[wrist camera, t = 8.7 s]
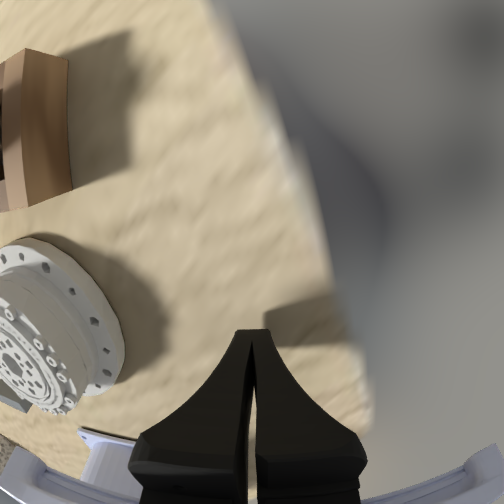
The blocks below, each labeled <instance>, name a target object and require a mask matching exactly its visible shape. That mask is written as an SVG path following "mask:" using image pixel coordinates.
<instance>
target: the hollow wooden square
mask: <svg viewBox="0 0 504 504" xmlns="http://www.w3.org/2000/svg"><path fill="white" fill-rule="evenodd" d="M67 73H68V60H66V59H63V58H59V57H56V56H53V55H49V54H46V53H42V52H39V51H35V50H31V49H27V48H25V49H23V50H21V51H20V52H18V53H16V54H15V55H13V56H12V57H10V58H9V59H7V60H6V61H4V62H3V63H1V64H0V112H2V150H3V164H4V165H1V166H0V213H1V212H6V211H11V210H16V209H21V208H26V207H30V206H32V205H35V204H37V203H40V202H42V201H45V200H47V199H50V198H53V197H55V196H58V195H61V194H63V193H66V192H69V191H72V182H71V173H70V163H69V152H68V136H67Z"/></svg>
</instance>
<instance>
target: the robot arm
mask: <svg viewBox="0 0 504 504" xmlns="http://www.w3.org/2000/svg"><path fill="white" fill-rule="evenodd" d="M254 388H255V398H256V407H257V414H256V446H255V457H256V472H257V500H258V504H491V503H492V502H494V501H495V500H497V499H498V498H500V497H501V496H502V495H504V458H503V457H502V455H501V453H500V451H499V449H498V447H497V445H496V443H493V444H491V445H489V446H488V447H486V448H484V449H482V450H480V451H478V452H477V453H475V454H474V455H473V456H471V457H470V458H469V459H468V460H467V461H466V462H465V463H464V465H462V466H460V467H458V468H456V469H453V470H451V471H449V472H447V473H444V474H442V475H440V476H437V477H435V478H432V479H430V480H427V481H424V482H422V483H419V484H416V485H413V486H410V487H407V488H404V489H401V490H398V491H394V492H391V493H388V494H384V495H380V496H377V497H372V498H368V499H364V500H360V496H359V491H358V489H359V488H360V483H359V479H358V477H359V475H360V474H361V472H362V471H363V469H364V468H365V466H366V464H367V462H368V461H367V456H366V453H365V450H364V448H363V446H362V444H361V442H360V440H359V438H358V436H357V435H356V433H354V432H353V431H351V430H350V429H348V428H346V427H345V426H343V425H342V424H341V423H339V422H338V421H336V420H335V419H334V418H333V417H331V416H330V415H329V414H328V413H326V412H325V411H324V410H323V409H322V408H321V407H320V406H319V405H318V404H317V403H316V402H314V401H313V400H312V399H311V398H310V396H309V395H308V394H307V393H306V392H305V391H304V390H303V389H302V387H301V386H300V385H299V384H298V383H297V381H296V380H295V379H294V377H293V376H292V374H291V373H290V371H289V370H288V369H287V367H286V365H285V364H284V362H283V360H282V358H281V357H280V355H279V353H278V351H277V349H276V347H275V345H274V342H273V340H272V337H271V334H270V331H269V330H268V329H250V330H237V331H236V332H235V335H234V337H233V339H232V341H231V343H230V345H229V347H228V349H227V351H226V353H225V354H224V356H223V358H222V359H221V361H220V362H219V364H218V365H217V367H216V368H215V370H214V371H213V372H212V374H211V375H210V376H209V378H208V379H207V380H206V381H205V383H204V384H203V385H202V386H201V387H200V388H199V389H198V390H197V391H196V392H195V393H194V394H193V395H192V396H191V397H190V398H189V399H188V400H187V401H186V402H185V403H184V404H183V405H182V406H181V407H179V408H178V409H177V410H175V411H174V412H173V413H172V414H170V415H169V416H168V417H166V418H165V419H163V420H162V421H161V422H159V423H157V424H156V425H154V426H152V427H151V428H149V429H147V430H146V431H144V432H142V433H141V434H140V436H139V437H138V439H137V441H136V442H135V441H130V440H125V439H121V438H116V437H112V436H108V435H104V434H100V433H96V432H93V431H89V430H86V429H82V428H78V429H77V433H78V434H79V436H80V437H81V438H82V439H83V441H84V442H85V443H86V444H87V446H88V447H89V448H90V449H91V452H90V455H89V457H88V460H87V462H86V465H85V467H84V470H83V472H82V475H81V477H80V480H78V479H76V478H73V477H71V476H68V475H66V474H64V473H61V472H59V471H57V470H54V469H52V468H50V467H48V466H46V464H45V463H44V462H43V461H42V460H41V459H40V458H39V457H37V456H36V455H34V454H32V453H31V452H29V451H27V450H25V449H23V448H21V447H19V446H16V447H15V449H14V451H13V452H12V454H11V456H10V458H9V460H8V462H7V464H6V466H5V468H4V470H3V472H2V474H1V476H0V488H1V489H2V490H3V491H4V492H6V493H7V494H8V495H10V496H11V497H12V498H14V499H15V500H17V501H18V502H20V503H21V504H248V435H249V424H250V416H251V408H252V399H253V391H254Z"/></svg>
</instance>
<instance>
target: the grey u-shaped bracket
mask: <svg viewBox="0 0 504 504" xmlns="http://www.w3.org/2000/svg"><path fill="white" fill-rule="evenodd" d="M0 401H1V402H3V403H5V404H7V405H9V406H11V407H13V408H15V409H18V410H20V411H22V412H24V413H26V414H27V412H28V410H29V409H30V407H31V406H32V404H33V403H31V402H30V401H28V400H27V399H21V398H20V397H19V396H18V395H17V393H16V392H15V391H14V390H13V389H12V388H11V387H10V386H8V385H7V384H6V383H5V382H4V381H3V379H0Z"/></svg>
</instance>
